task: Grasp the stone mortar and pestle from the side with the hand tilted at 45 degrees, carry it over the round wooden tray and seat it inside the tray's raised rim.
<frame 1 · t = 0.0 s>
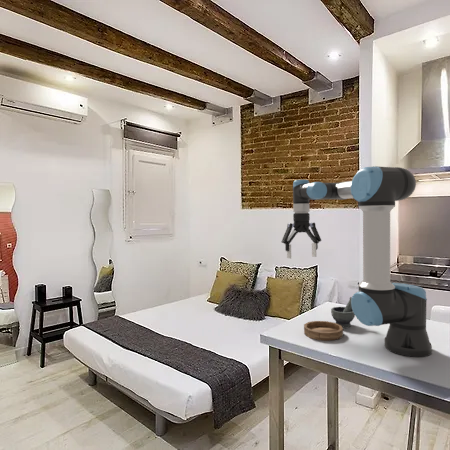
hand: (301, 257, 168), 28 cm above the table, tool pointing down, fingers open, 13 cm apart
round wooden tray: (323, 333, 143), on the table
mortar and pestle: (344, 325, 154), on the table
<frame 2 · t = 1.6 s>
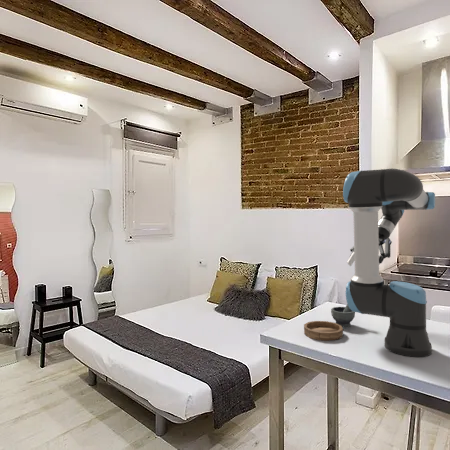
hand: (360, 266, 158), 25 cm above the table, tool tilted 45°, fingers open, 13 cm apart
nothing on the table moved.
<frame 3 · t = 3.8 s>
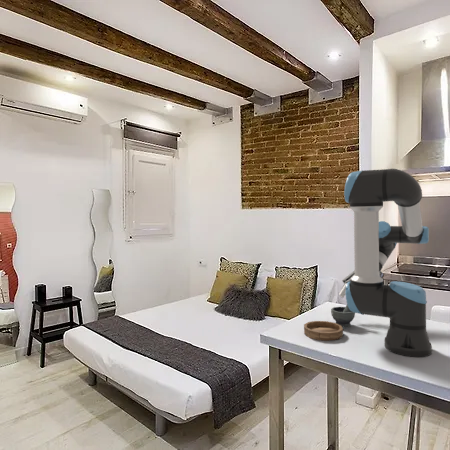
hand: (352, 299, 157), 10 cm above the table, tool tilted 45°, fingers open, 13 cm apart
nothing on the table moved.
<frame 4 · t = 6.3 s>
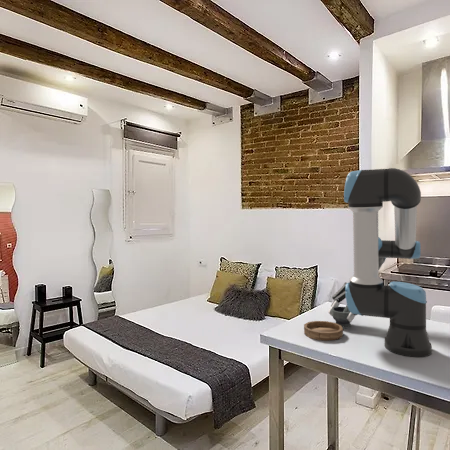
hand: (339, 317, 152), 4 cm above the table, tool tilted 45°, fingers closed on mortar and pestle, 10 cm apart
mortar and pestle: (344, 325, 154), on the table, touching gripper
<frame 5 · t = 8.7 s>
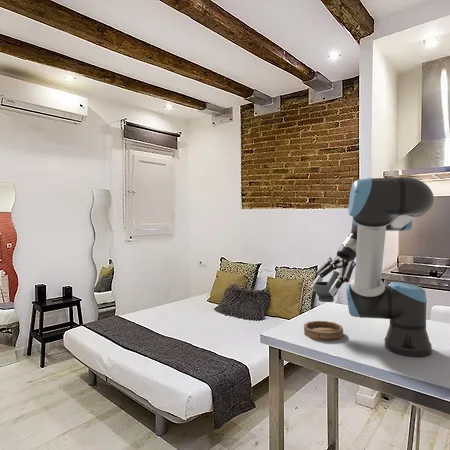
hand: (321, 291, 145), 17 cm above the table, tool tilted 45°, fingers closed on mortar and pestle, 10 cm apart
mortar and pestle: (327, 300, 146), point 13 cm above the table, touching gripper
when the fingers open (6 cm above the table, at t = 11.7 s): mortar and pestle stays where it is, resting on round wooden tray.
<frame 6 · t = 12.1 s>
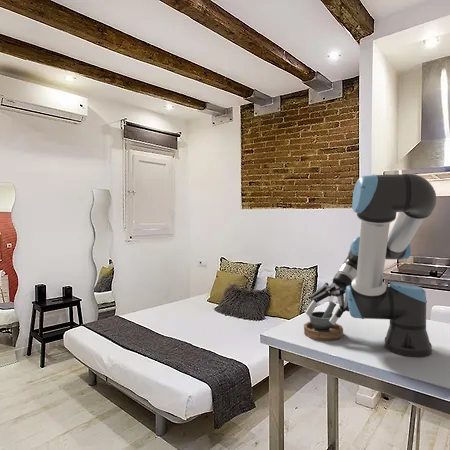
hand: (318, 318, 142), 7 cm above the table, tool tilted 45°, fingers open, 13 cm apart
mortar and pestle: (323, 332, 143), point 1 cm above the table, touching round wooden tray
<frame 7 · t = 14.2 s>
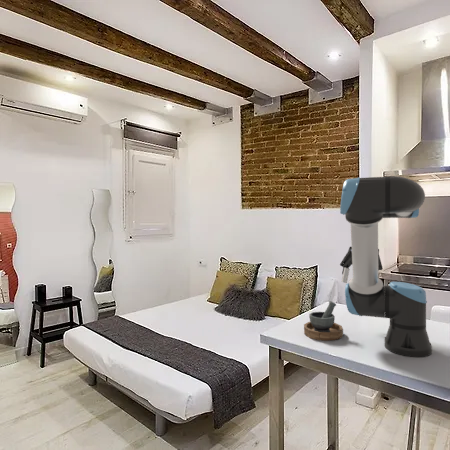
hand: (356, 284, 152), 18 cm above the table, tool tilted 20°, fingers open, 13 cm apart
nothing on the table moved.
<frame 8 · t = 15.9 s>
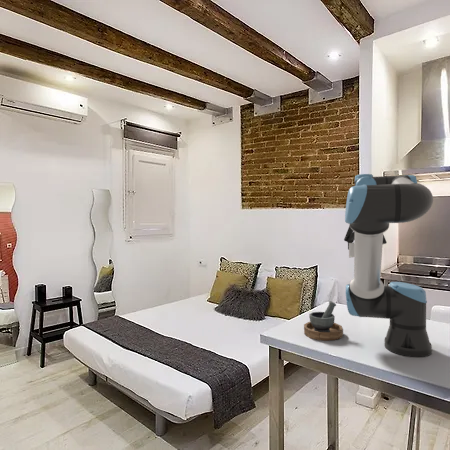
hand: (364, 259, 154), 29 cm above the table, tool pointing down, fingers open, 13 cm apart
nothing on the table moved.
at the end: mortar and pestle inside the target area on the round wooden tray (0.2 cm from its centre), point 0.8 cm above the round wooden tray's base; mortar and pestle tilted 0°; the gripper is holding nothing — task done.
